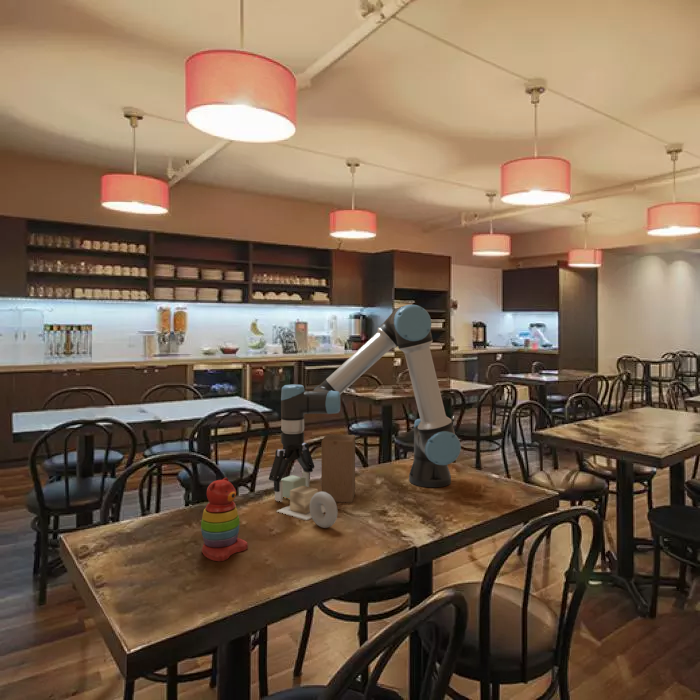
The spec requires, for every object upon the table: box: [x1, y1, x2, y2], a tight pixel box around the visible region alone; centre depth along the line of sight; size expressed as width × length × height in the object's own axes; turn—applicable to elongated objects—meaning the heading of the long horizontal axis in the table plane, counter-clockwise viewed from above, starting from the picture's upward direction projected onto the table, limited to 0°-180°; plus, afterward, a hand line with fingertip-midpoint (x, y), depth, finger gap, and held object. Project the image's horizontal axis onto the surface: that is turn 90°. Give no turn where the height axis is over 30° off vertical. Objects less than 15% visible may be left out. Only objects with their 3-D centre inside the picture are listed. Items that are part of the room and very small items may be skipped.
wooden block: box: [320, 433, 356, 504], centre depth 171 cm, size 10×10×20 cm
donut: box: [310, 490, 339, 529], centre depth 146 cm, size 10×4×10 cm, turn 46°
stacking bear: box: [200, 477, 249, 562], centre depth 131 cm, size 11×10×18 cm
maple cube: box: [289, 486, 319, 514], centre depth 159 cm, size 6×6×6 cm
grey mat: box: [276, 504, 326, 521], centre depth 160 cm, size 12×12×1 cm
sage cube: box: [281, 474, 306, 499], centre depth 173 cm, size 6×6×6 cm
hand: (292, 495), depth 173 cm, fingers open, 12 cm apart
